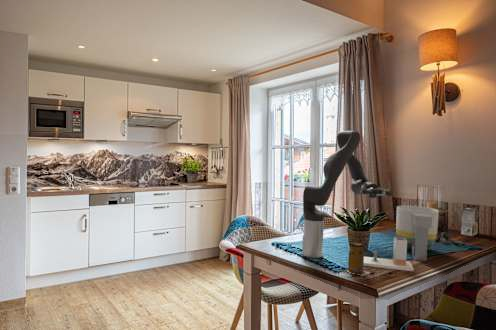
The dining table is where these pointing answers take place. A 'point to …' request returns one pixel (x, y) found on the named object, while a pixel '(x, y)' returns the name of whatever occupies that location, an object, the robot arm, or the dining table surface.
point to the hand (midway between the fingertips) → (381, 193)
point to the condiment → (356, 258)
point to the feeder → (420, 235)
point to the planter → (406, 227)
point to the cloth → (446, 240)
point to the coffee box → (469, 221)
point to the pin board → (385, 263)
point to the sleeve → (399, 251)
